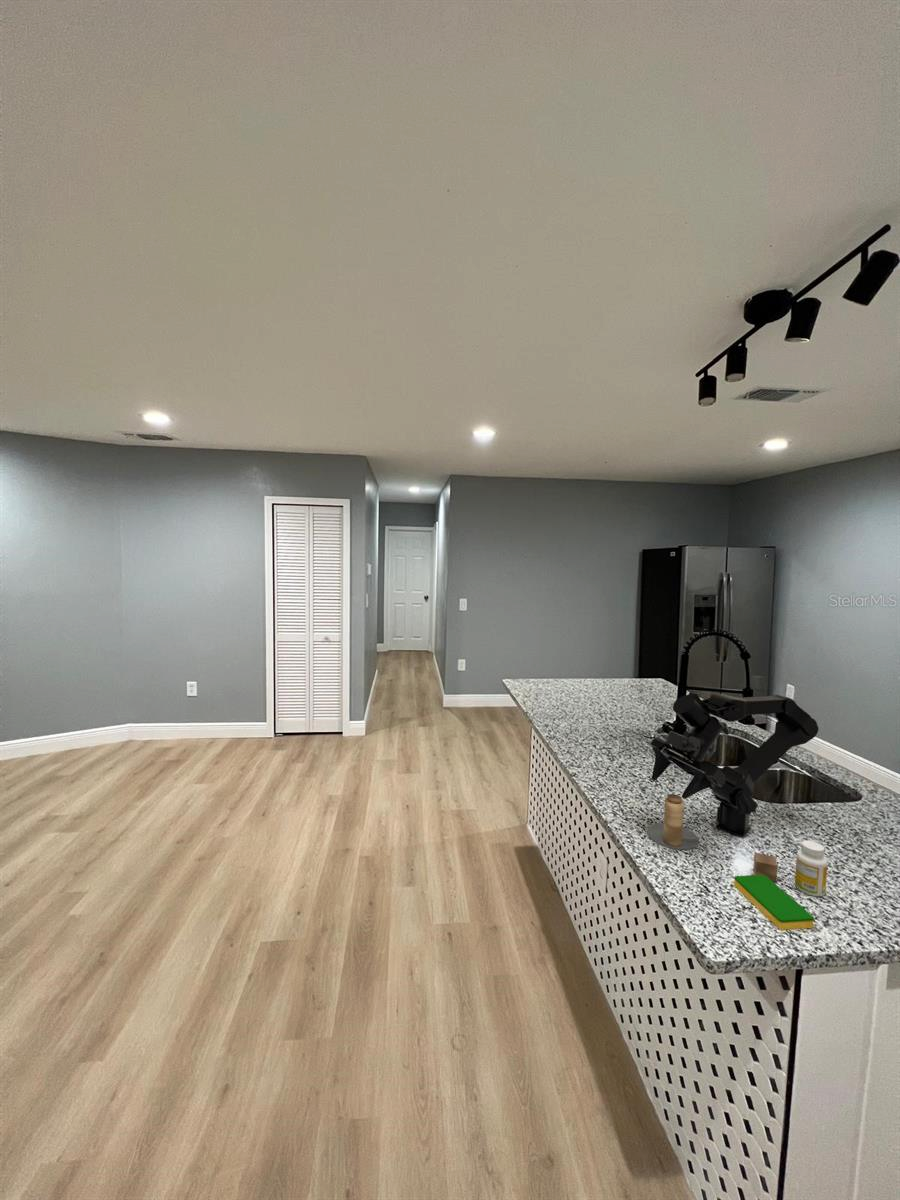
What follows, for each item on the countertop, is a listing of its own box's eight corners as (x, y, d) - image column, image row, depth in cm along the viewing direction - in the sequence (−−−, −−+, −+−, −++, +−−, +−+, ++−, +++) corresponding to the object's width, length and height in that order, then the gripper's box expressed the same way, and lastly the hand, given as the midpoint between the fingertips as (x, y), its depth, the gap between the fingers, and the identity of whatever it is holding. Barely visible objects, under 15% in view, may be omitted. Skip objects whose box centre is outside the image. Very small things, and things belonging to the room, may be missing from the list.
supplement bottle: (812, 881, 114) (816, 838, 113) (831, 897, 108) (835, 852, 107) (788, 881, 113) (791, 838, 113) (806, 897, 108) (809, 852, 107)
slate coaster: (706, 837, 131) (706, 836, 131) (686, 855, 123) (686, 854, 123) (659, 819, 140) (659, 818, 140) (638, 835, 131) (638, 834, 131)
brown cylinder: (685, 845, 126) (687, 799, 126) (672, 848, 125) (674, 802, 124) (672, 836, 130) (674, 792, 129) (659, 839, 129) (661, 794, 128)
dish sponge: (763, 884, 113) (764, 874, 113) (814, 929, 99) (815, 917, 99) (732, 886, 112) (733, 875, 112) (779, 932, 98) (780, 919, 98)
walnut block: (774, 874, 116) (775, 856, 116) (776, 883, 113) (777, 866, 112) (753, 869, 118) (754, 852, 118) (755, 878, 114) (756, 861, 114)
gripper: (656, 707, 135) (622, 756, 132) (721, 734, 119) (684, 790, 116) (676, 730, 140) (644, 777, 137) (741, 759, 123) (706, 814, 121)
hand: (667, 788), depth 128 cm, fingers open, 9 cm apart
